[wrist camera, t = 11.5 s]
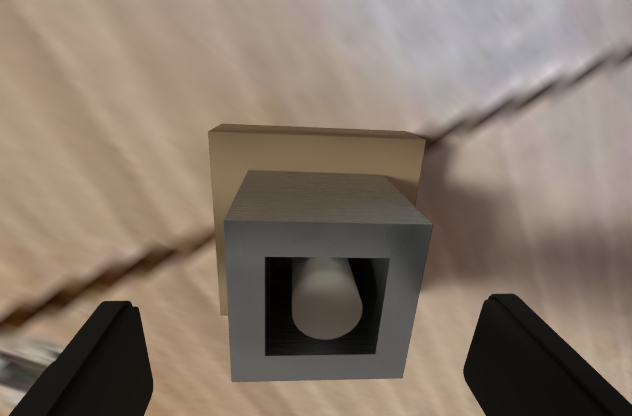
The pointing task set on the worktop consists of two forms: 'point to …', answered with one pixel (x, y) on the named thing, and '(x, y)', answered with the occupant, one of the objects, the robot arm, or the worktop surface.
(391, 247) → the gray hollow cube
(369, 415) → the worktop surface
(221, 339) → the worktop surface
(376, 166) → the shaft block
